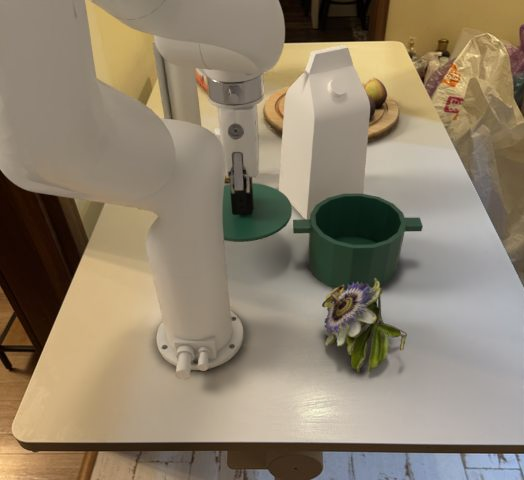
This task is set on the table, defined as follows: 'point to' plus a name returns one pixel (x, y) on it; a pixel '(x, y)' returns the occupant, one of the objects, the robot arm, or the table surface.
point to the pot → (355, 239)
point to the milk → (324, 131)
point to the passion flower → (359, 323)
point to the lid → (256, 214)
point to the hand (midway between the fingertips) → (242, 205)
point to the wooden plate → (381, 109)
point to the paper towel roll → (177, 90)
